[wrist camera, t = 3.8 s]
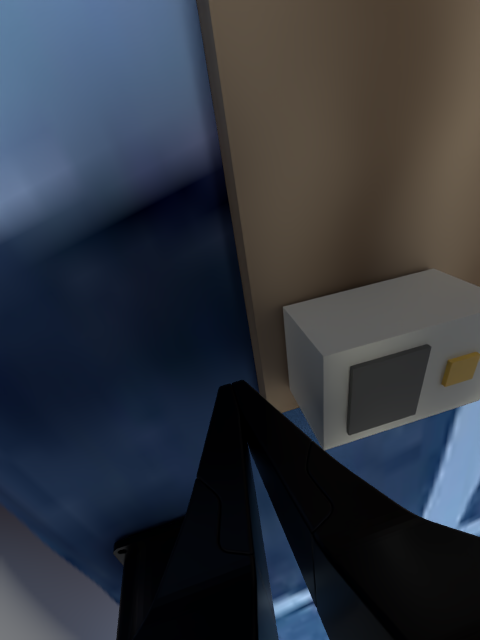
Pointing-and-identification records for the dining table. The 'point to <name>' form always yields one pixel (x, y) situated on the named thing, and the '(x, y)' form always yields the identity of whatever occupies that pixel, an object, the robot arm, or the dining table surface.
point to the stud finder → (384, 354)
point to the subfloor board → (343, 149)
